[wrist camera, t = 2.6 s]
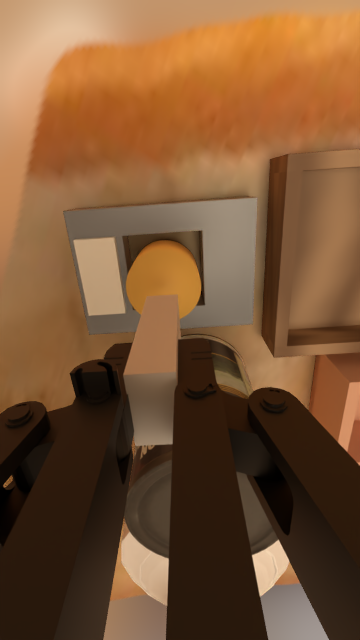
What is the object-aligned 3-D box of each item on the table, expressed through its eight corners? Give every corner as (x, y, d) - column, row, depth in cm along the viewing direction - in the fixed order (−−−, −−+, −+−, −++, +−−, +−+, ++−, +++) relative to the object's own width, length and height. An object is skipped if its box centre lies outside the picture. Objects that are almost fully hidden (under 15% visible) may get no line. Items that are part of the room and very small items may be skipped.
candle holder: (245, 566, 45) (290, 815, 27) (112, 543, 42) (66, 802, 24) (306, 475, 37) (425, 740, 19) (148, 440, 34) (118, 710, 17)
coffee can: (124, 377, 31) (87, 516, 18) (199, 313, 28) (219, 422, 15) (192, 432, 34) (202, 584, 21) (266, 379, 31) (330, 518, 18)
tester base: (96, 322, 28) (87, 337, 25) (73, 208, 24) (60, 212, 21) (246, 312, 28) (254, 327, 25) (249, 196, 24) (259, 197, 21)
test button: (138, 304, 25) (131, 324, 21) (129, 242, 23) (120, 253, 19) (198, 300, 25) (202, 320, 21) (195, 237, 23) (199, 247, 19)
